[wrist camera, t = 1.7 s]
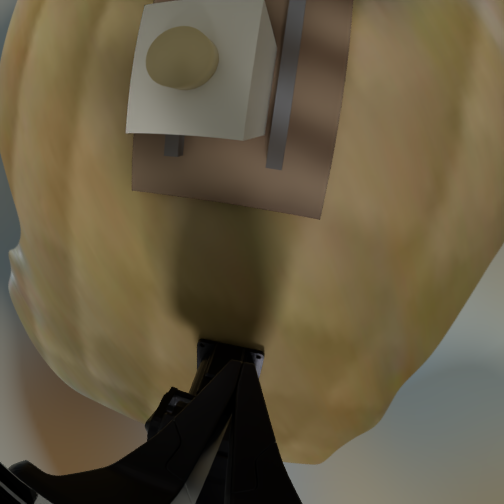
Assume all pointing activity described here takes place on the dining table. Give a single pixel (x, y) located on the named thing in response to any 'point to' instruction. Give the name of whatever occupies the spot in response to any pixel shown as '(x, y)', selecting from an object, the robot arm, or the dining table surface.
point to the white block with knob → (203, 69)
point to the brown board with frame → (277, 128)
